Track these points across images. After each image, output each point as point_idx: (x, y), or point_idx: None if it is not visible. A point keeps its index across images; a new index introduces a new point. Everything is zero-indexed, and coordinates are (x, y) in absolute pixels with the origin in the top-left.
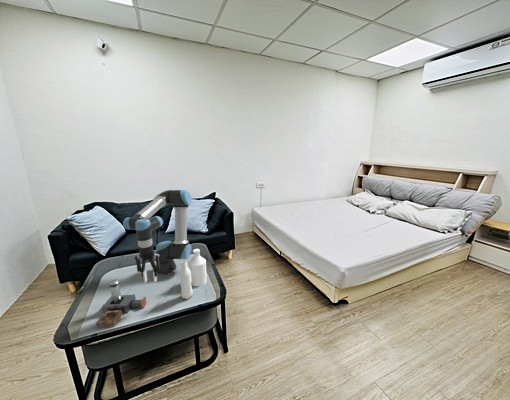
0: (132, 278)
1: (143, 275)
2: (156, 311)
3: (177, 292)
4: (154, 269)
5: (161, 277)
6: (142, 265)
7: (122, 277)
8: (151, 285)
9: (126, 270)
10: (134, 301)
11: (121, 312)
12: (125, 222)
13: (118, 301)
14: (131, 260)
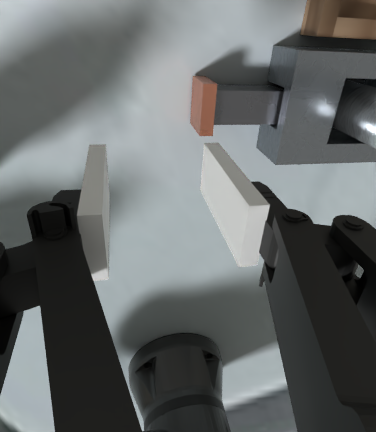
0: None
1: (249, 184)
2: (91, 26)
3: (30, 207)
4: (54, 257)
5: (180, 317)
6: (343, 319)
7: None
8: (210, 264)
9: None
10: (260, 110)
11: (314, 22)
12: None
13: (358, 96)
14: None
